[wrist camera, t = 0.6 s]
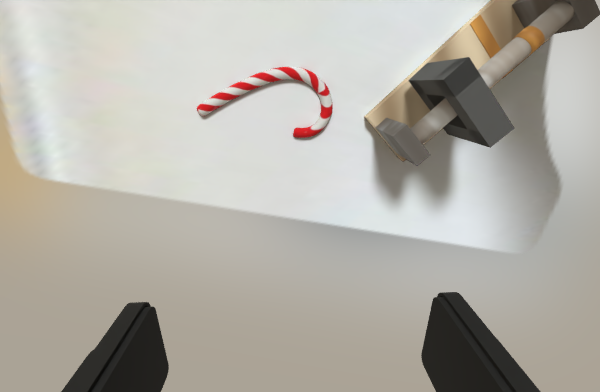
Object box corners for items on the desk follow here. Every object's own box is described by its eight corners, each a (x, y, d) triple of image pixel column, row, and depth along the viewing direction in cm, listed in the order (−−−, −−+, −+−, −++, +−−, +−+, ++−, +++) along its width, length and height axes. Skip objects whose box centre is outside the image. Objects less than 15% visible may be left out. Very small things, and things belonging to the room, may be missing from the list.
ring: (427, 62, 29) (469, 57, 23) (465, 118, 32) (514, 128, 25) (408, 80, 30) (443, 79, 23) (447, 134, 32) (490, 147, 25)
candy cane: (188, 79, 30) (329, 60, 30) (191, 79, 32) (328, 61, 32) (205, 151, 33) (335, 134, 33) (208, 149, 34) (333, 132, 34)
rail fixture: (509, -18, 29) (574, -46, 23) (540, 39, 31) (608, 28, 25) (364, 116, 33) (383, 124, 27) (399, 159, 35) (425, 176, 29)
